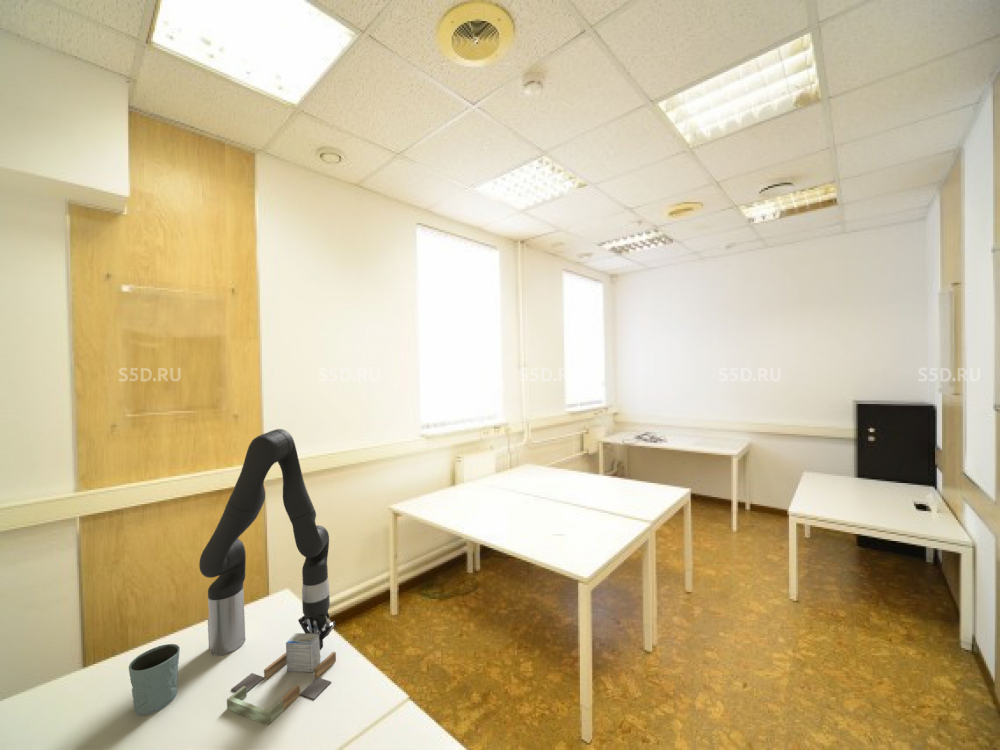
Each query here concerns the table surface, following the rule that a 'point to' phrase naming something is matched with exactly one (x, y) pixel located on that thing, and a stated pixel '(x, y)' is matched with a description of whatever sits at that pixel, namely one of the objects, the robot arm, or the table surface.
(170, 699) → the blue-grey vase
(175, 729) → the table surface
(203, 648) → the table surface
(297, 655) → the medicine box
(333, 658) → the trap channel
